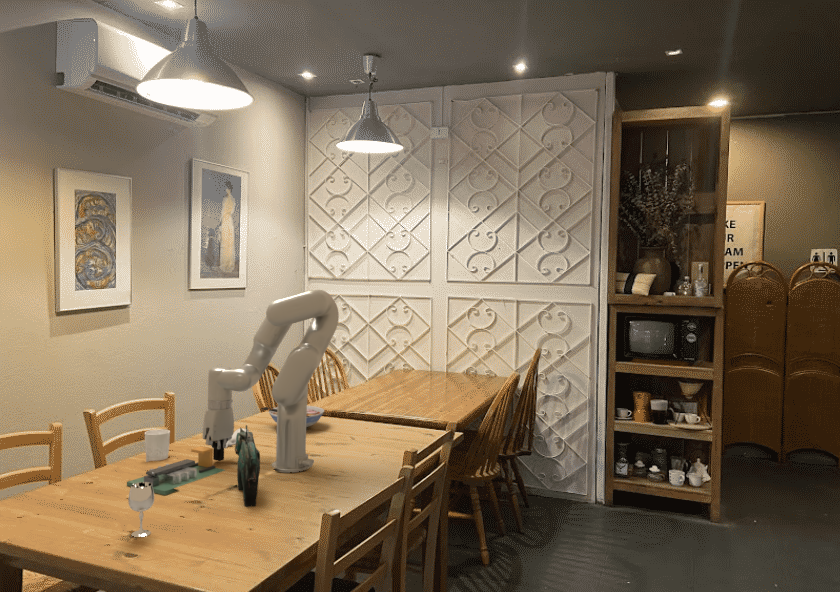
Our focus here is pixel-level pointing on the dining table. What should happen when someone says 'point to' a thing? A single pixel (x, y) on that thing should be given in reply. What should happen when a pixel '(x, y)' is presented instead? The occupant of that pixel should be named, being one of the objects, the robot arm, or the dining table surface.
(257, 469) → the dark green sculpted piece
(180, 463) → the dark grey flat bar
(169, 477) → the heat sink
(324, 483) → the dining table surface
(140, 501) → the wineglass
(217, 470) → the circuit board
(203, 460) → the catch
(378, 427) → the dining table surface
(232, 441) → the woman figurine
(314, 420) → the ramen bowl
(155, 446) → the white cup
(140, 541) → the dining table surface
